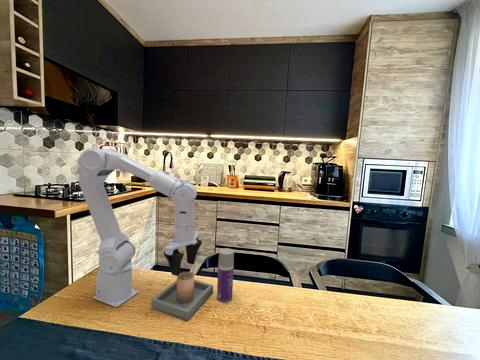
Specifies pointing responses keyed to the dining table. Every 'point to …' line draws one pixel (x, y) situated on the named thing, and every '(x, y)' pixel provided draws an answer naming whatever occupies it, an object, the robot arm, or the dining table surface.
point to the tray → (182, 311)
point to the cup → (185, 287)
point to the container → (225, 275)
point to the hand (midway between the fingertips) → (183, 268)
